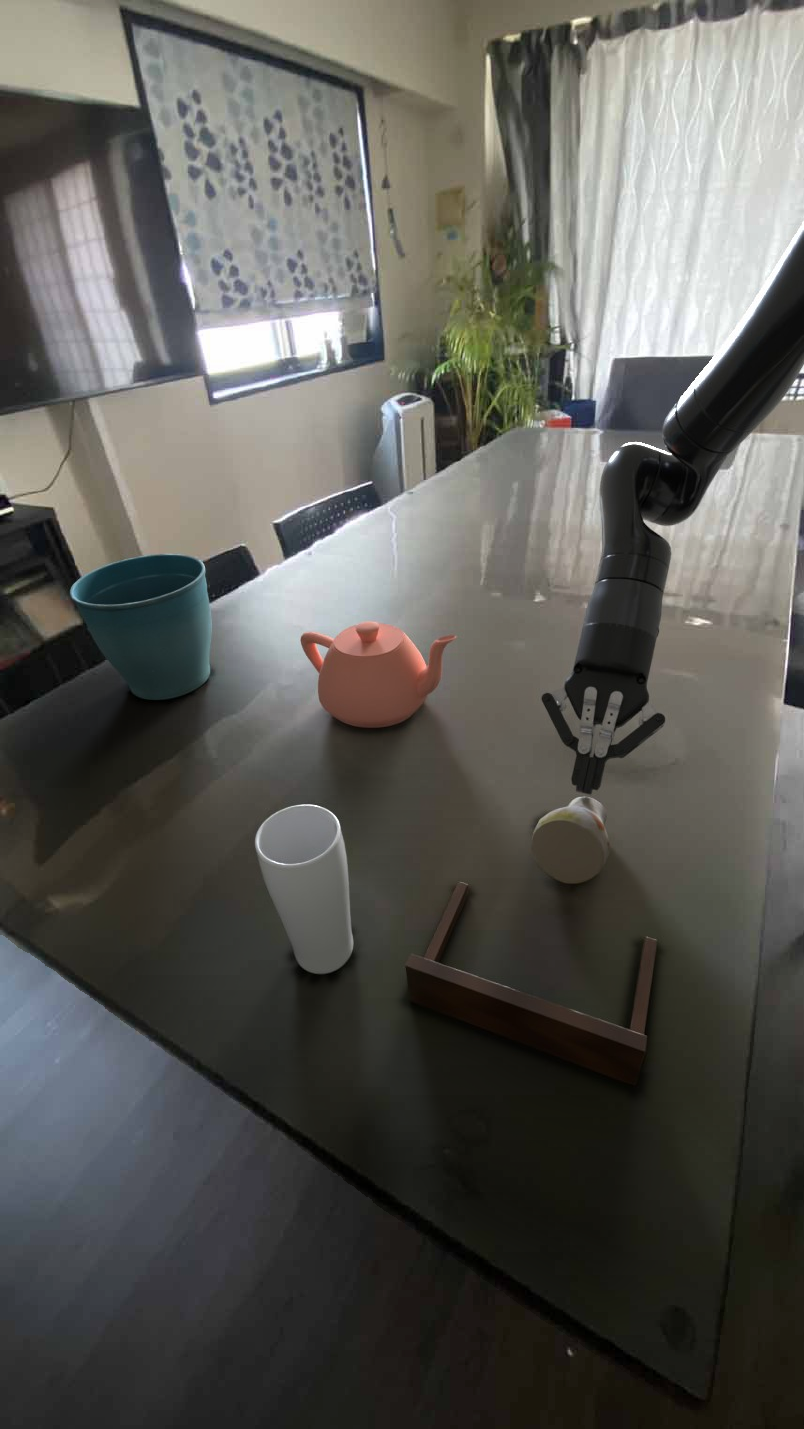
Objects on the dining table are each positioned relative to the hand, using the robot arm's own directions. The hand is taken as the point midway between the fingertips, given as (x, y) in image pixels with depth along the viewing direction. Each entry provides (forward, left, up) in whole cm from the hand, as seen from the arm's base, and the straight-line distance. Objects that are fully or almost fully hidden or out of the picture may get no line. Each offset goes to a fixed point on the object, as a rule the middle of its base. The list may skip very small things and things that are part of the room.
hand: (583, 792), depth 65 cm
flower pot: (+64, -10, -5) cm, 65 cm away
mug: (0, +4, -5) cm, 6 cm away
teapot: (+30, -14, -5) cm, 33 cm away
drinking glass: (+18, +23, -5) cm, 30 cm away
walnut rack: (0, +18, -4) cm, 19 cm away
